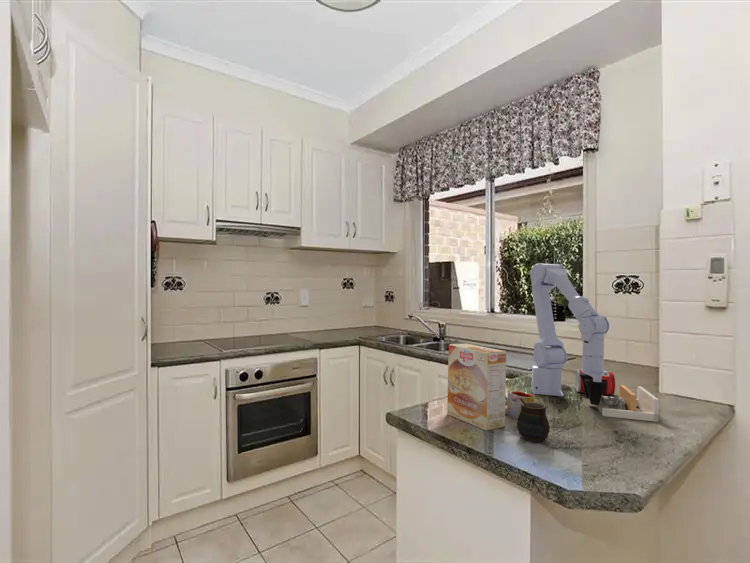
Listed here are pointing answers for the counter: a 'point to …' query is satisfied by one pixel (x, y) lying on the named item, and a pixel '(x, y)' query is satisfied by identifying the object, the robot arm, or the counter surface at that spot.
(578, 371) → the canned food
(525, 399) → the mug
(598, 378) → the robot arm
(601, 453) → the counter surface
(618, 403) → the egg carton
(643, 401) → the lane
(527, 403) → the mate gourd
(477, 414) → the coffeecake box
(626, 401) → the pusher plate
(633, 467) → the counter surface
